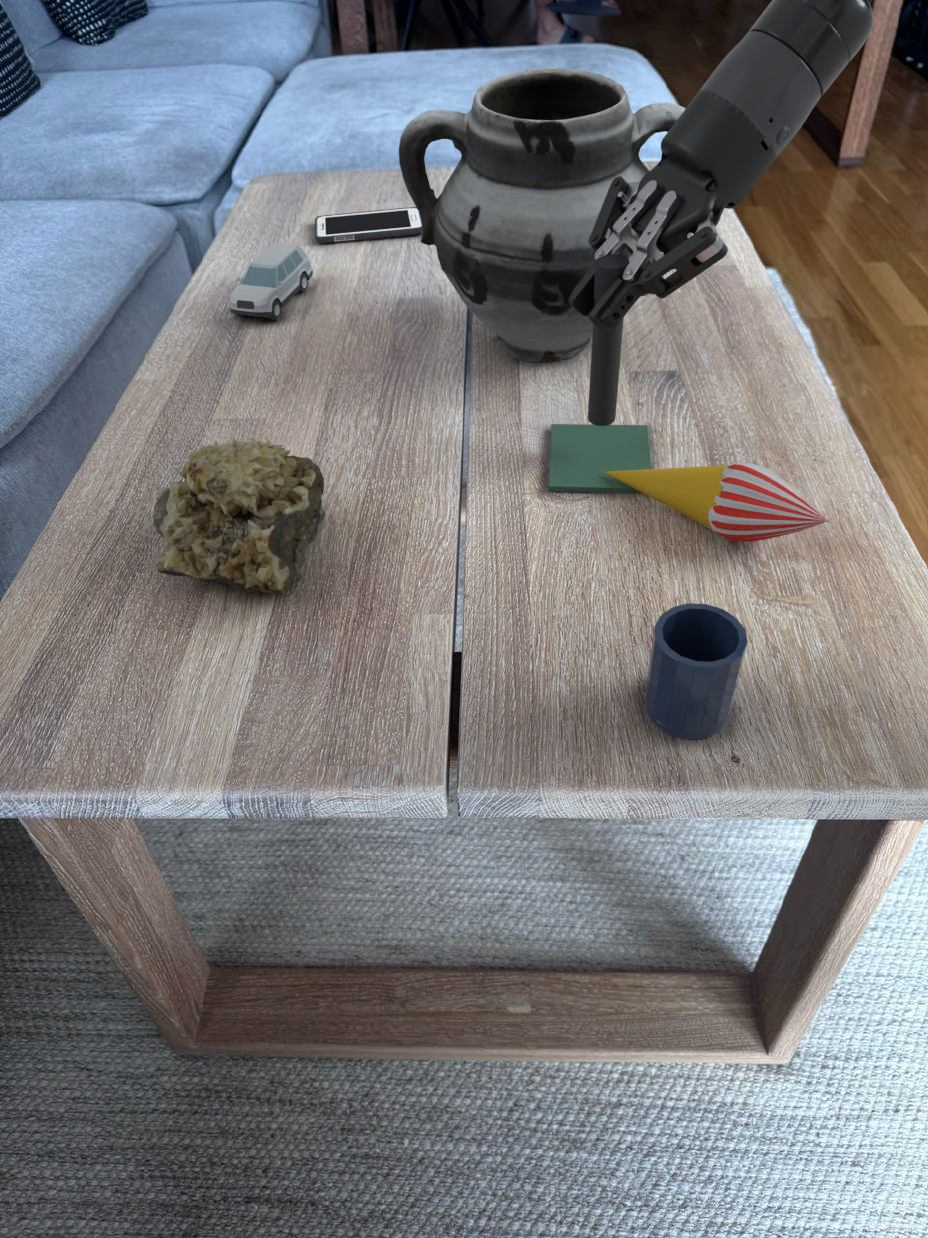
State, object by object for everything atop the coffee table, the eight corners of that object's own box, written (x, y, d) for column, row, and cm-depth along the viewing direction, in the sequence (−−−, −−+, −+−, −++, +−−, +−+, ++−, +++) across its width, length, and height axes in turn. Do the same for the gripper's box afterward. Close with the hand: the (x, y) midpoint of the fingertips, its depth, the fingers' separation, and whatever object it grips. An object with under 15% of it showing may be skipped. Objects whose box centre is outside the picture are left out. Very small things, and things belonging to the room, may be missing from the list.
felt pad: (646, 430, 86) (647, 424, 85) (652, 493, 78) (653, 488, 78) (551, 429, 86) (551, 423, 86) (548, 491, 79) (548, 486, 79)
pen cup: (724, 677, 63) (741, 604, 58) (733, 741, 59) (752, 668, 54) (642, 674, 64) (652, 601, 59) (646, 737, 60) (657, 665, 55)
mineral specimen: (123, 600, 72) (80, 498, 65) (193, 502, 81) (162, 404, 74) (295, 623, 69) (270, 519, 62) (348, 519, 78) (331, 418, 71)
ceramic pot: (672, 295, 105) (702, 47, 88) (689, 399, 89) (730, 120, 72) (427, 296, 108) (409, 56, 91) (400, 397, 92) (372, 127, 74)
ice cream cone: (612, 509, 83) (830, 563, 71) (575, 504, 78) (802, 560, 66) (629, 441, 82) (853, 484, 70) (592, 431, 77) (827, 475, 65)
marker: (622, 420, 79) (636, 261, 69) (599, 430, 78) (610, 270, 68) (603, 407, 81) (614, 251, 71) (580, 417, 80) (588, 259, 70)
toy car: (227, 323, 105) (217, 282, 102) (276, 277, 114) (268, 237, 111) (271, 329, 104) (263, 286, 100) (317, 281, 113) (311, 241, 109)
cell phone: (425, 234, 121) (424, 227, 121) (315, 244, 121) (314, 237, 120) (420, 213, 127) (419, 205, 126) (315, 223, 126) (314, 215, 125)
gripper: (659, 66, 69) (516, 260, 74) (778, 112, 60) (605, 330, 65) (708, 130, 74) (570, 307, 79) (824, 182, 65) (660, 378, 70)
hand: (587, 316), depth 72 cm, fingers closed on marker, 2 cm apart
